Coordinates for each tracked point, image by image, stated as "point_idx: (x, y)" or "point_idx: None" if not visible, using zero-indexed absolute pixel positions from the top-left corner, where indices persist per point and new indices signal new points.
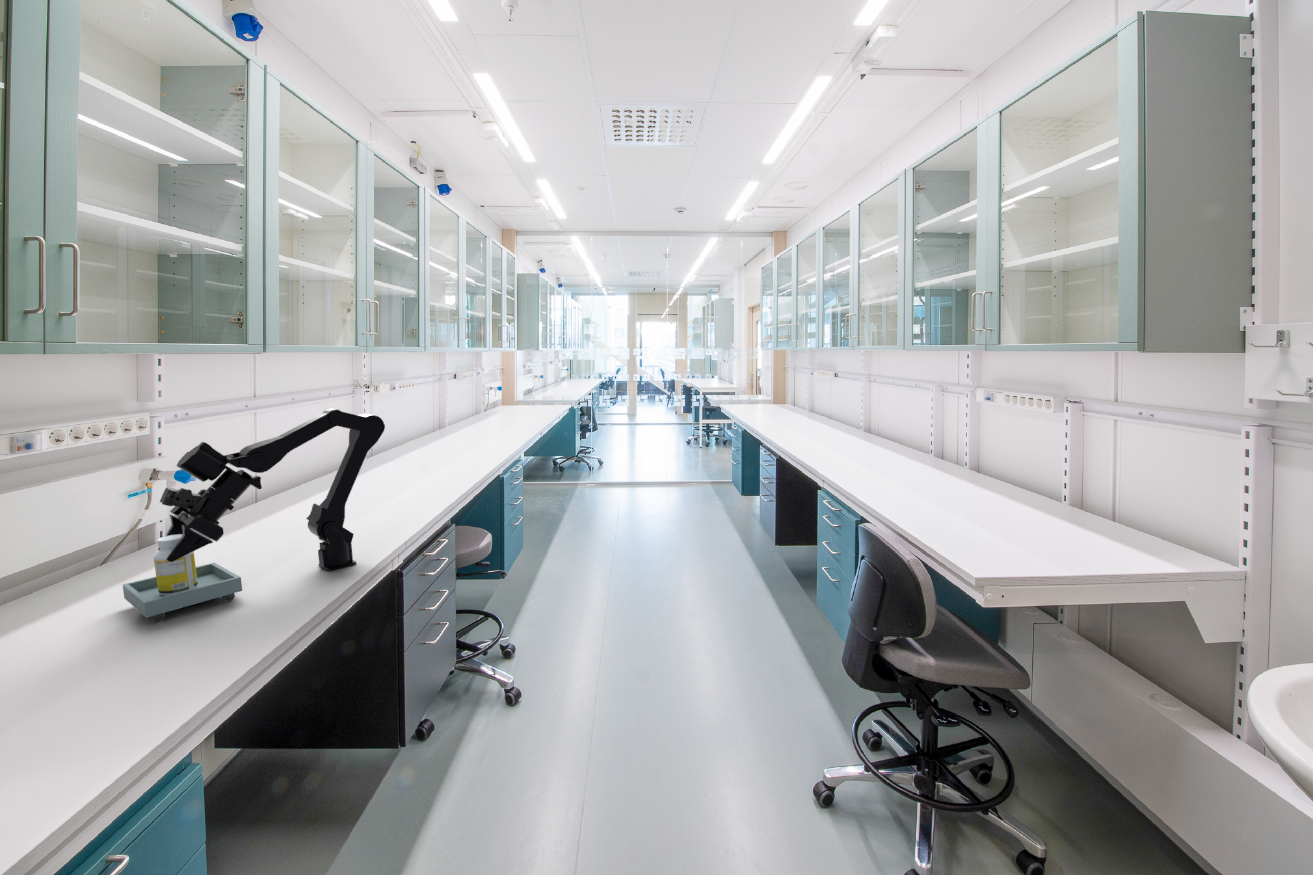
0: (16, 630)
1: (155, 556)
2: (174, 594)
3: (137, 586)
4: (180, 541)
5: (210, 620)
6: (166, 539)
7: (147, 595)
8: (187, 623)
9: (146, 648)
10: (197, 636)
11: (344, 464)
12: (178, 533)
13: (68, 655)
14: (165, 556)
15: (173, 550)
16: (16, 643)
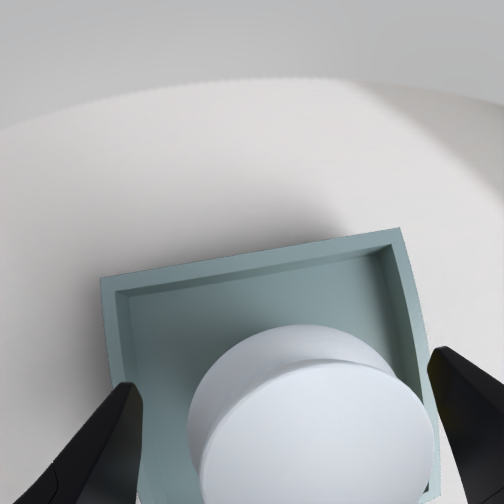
0: (350, 84)
1: (268, 334)
2: (111, 368)
3: (391, 272)
4: (31, 487)
5: (70, 418)
6: (272, 441)
7: (309, 301)
8: (87, 375)
9: (15, 278)
10: (3, 366)
11: None
12: (498, 474)
13: (99, 157)
14: (201, 387)
15: (80, 430)
16: (263, 83)
